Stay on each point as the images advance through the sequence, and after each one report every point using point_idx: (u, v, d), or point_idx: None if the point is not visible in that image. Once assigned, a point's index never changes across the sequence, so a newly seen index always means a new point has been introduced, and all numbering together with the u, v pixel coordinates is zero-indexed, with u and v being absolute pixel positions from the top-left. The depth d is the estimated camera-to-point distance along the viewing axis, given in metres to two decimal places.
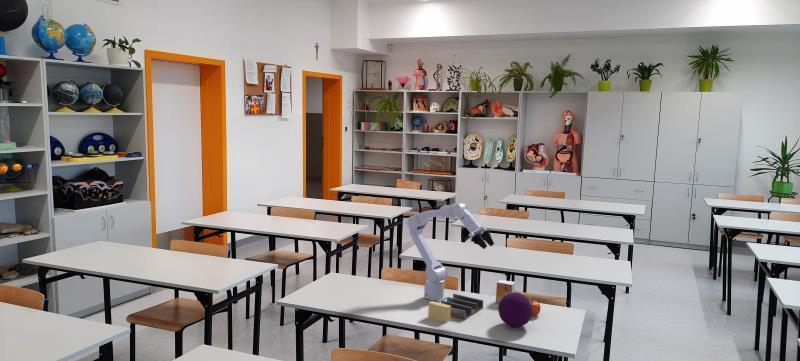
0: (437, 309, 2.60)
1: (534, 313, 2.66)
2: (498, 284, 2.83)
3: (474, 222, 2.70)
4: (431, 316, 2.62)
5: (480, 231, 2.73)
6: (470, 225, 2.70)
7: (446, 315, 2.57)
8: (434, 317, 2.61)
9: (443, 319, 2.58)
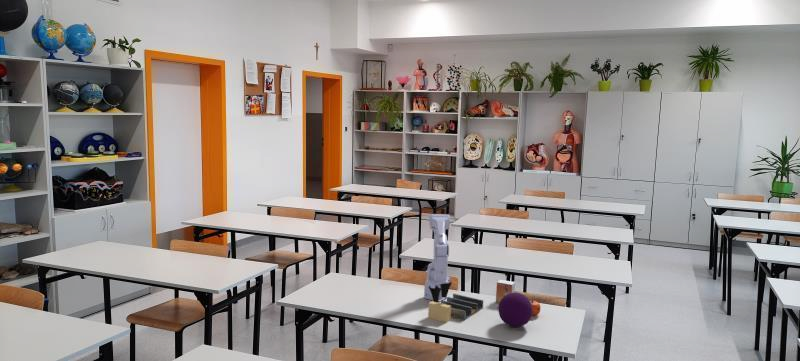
0: (437, 309, 2.60)
1: (534, 313, 2.66)
2: (498, 284, 2.83)
3: (444, 274, 2.56)
4: (431, 316, 2.62)
5: None
6: (439, 274, 2.56)
7: (446, 315, 2.57)
8: (434, 317, 2.61)
9: (443, 319, 2.58)
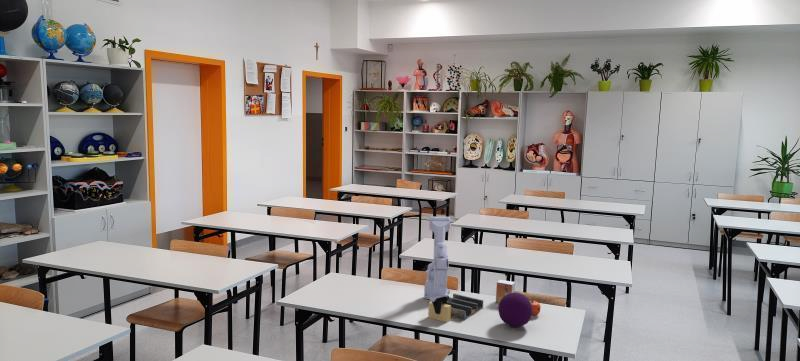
0: None
1: (534, 313, 2.66)
2: (498, 284, 2.83)
3: (443, 287, 2.57)
4: (431, 316, 2.62)
5: None
6: (438, 287, 2.57)
7: (446, 315, 2.57)
8: (434, 317, 2.61)
9: (443, 319, 2.58)
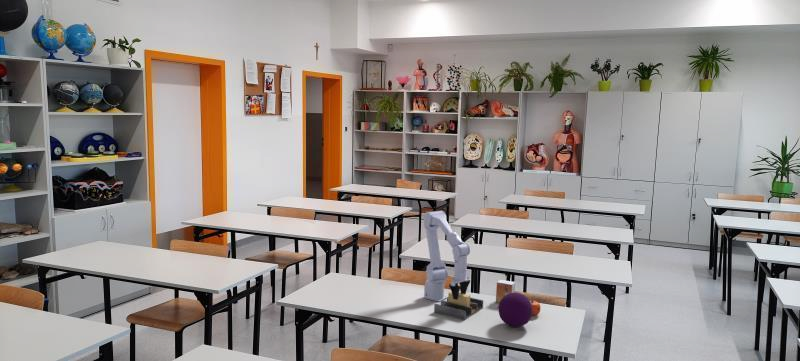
0: (457, 299, 2.71)
1: (534, 313, 2.66)
2: (498, 284, 2.83)
3: (463, 272, 2.68)
4: None
5: None
6: (458, 272, 2.68)
7: (465, 304, 2.69)
8: None
9: None
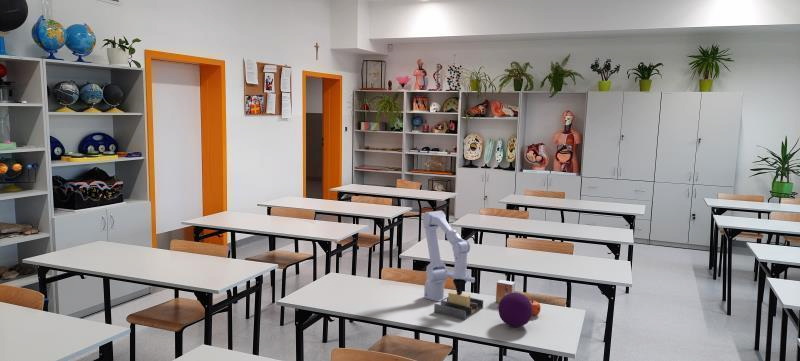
0: (457, 299, 2.71)
1: (534, 313, 2.66)
2: (498, 284, 2.83)
3: (455, 269, 2.69)
4: None
5: None
6: None
7: (465, 304, 2.69)
8: None
9: None
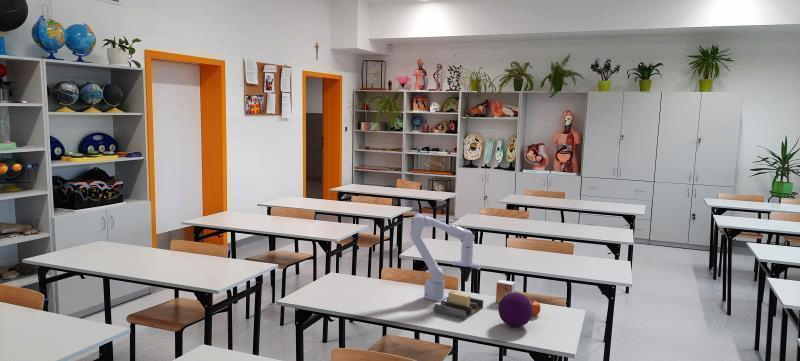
0: (457, 299, 2.71)
1: (534, 313, 2.66)
2: (498, 284, 2.83)
3: (462, 257, 2.84)
4: None
5: None
6: None
7: (465, 304, 2.69)
8: None
9: None
